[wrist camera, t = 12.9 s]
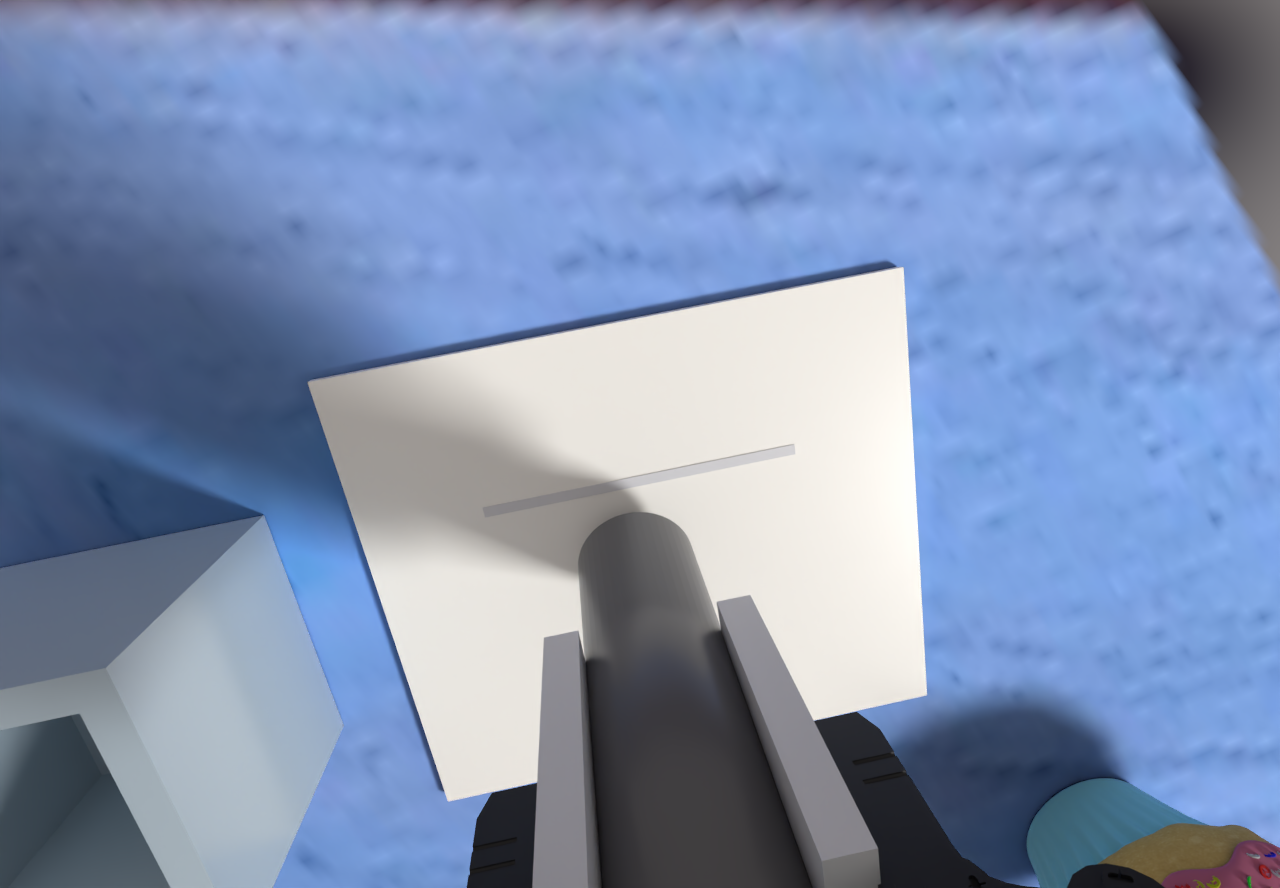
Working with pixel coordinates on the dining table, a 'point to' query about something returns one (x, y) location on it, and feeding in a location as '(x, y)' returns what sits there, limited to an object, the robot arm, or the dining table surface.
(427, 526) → the paper
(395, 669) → the dining table surface
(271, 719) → the pen pot
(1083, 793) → the cupcake
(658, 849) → the marker
